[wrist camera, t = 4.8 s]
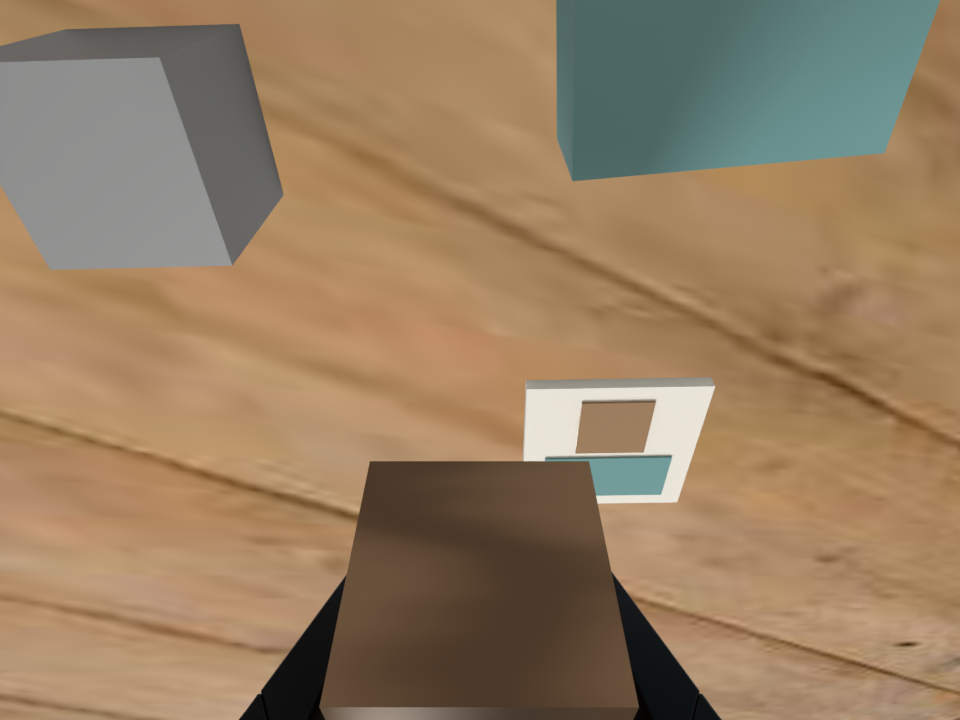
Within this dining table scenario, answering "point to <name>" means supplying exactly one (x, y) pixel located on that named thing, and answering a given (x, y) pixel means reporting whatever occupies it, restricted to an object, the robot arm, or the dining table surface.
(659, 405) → the tile
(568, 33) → the teal base block
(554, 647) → the walnut block
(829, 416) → the dining table surface
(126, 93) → the slate grey block
